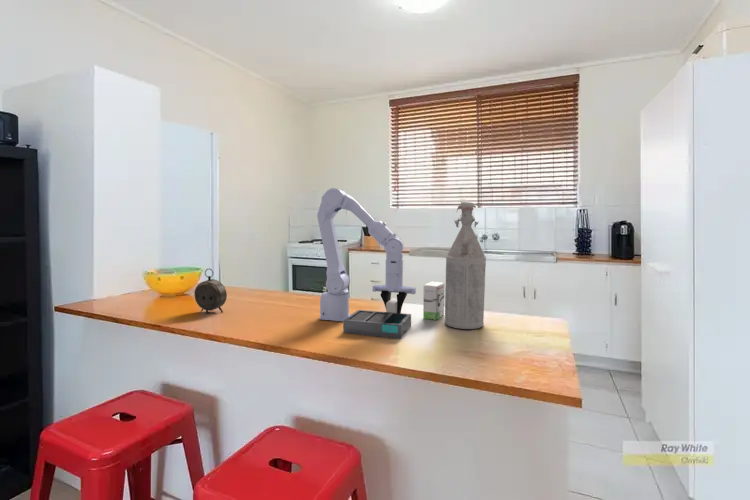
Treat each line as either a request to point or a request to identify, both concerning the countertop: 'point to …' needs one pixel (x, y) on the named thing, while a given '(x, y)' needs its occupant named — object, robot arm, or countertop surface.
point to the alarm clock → (210, 294)
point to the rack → (377, 324)
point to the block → (391, 305)
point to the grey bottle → (465, 276)
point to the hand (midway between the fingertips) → (393, 313)
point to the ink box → (433, 300)
